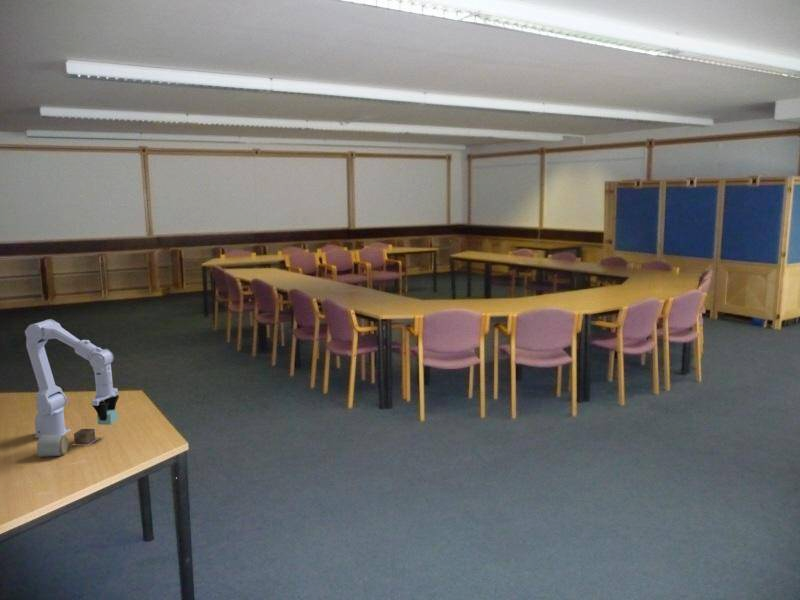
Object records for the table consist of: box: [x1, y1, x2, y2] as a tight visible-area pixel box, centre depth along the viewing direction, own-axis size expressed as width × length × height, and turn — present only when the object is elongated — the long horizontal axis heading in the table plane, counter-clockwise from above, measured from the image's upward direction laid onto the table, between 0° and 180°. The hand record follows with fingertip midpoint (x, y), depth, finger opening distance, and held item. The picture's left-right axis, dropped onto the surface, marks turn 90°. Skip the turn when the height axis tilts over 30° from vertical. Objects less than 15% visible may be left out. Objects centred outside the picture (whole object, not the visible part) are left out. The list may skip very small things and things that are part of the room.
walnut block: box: [73, 428, 96, 444], centre depth 235 cm, size 5×5×4 cm
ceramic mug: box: [36, 434, 69, 458], centre depth 225 cm, size 11×8×8 cm
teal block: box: [96, 409, 119, 426], centre depth 238 cm, size 5×5×4 cm
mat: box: [71, 437, 99, 446], centre depth 235 cm, size 10×9×1 cm
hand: (107, 417), depth 238 cm, fingers closed on teal block, 5 cm apart
